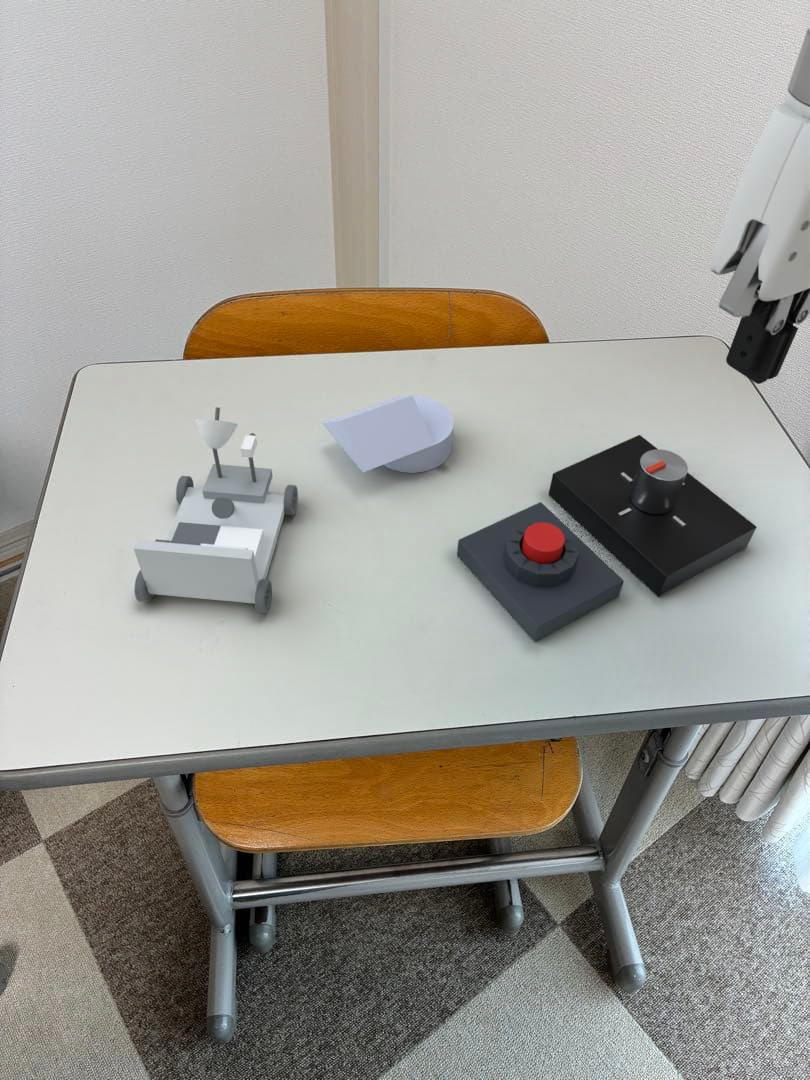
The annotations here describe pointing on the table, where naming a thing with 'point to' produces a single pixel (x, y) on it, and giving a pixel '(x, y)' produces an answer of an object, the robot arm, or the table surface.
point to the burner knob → (658, 481)
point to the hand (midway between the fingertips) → (750, 370)
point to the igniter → (538, 573)
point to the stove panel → (649, 518)
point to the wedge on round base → (396, 434)
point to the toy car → (218, 531)
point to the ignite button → (543, 543)
